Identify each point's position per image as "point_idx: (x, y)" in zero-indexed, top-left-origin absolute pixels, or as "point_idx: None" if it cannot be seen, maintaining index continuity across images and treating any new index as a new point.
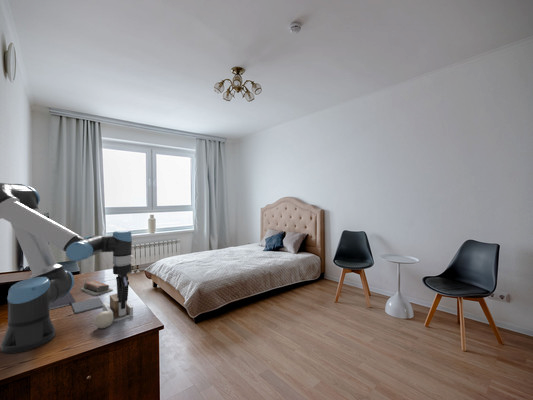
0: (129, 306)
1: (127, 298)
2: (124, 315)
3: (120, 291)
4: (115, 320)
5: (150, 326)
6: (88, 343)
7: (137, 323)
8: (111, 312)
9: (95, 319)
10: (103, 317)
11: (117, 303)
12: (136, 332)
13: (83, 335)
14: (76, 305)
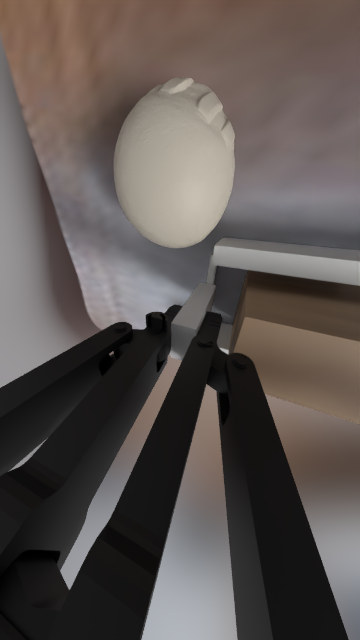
0: (221, 349)
1: (109, 362)
2: (236, 310)
3: (78, 404)
4: (210, 261)
5: (97, 314)
6: (57, 56)
7: (134, 304)
8: (223, 256)
9: (158, 90)
10: (114, 162)
11: (239, 322)
12: (79, 274)
13: (168, 12)
14: None
